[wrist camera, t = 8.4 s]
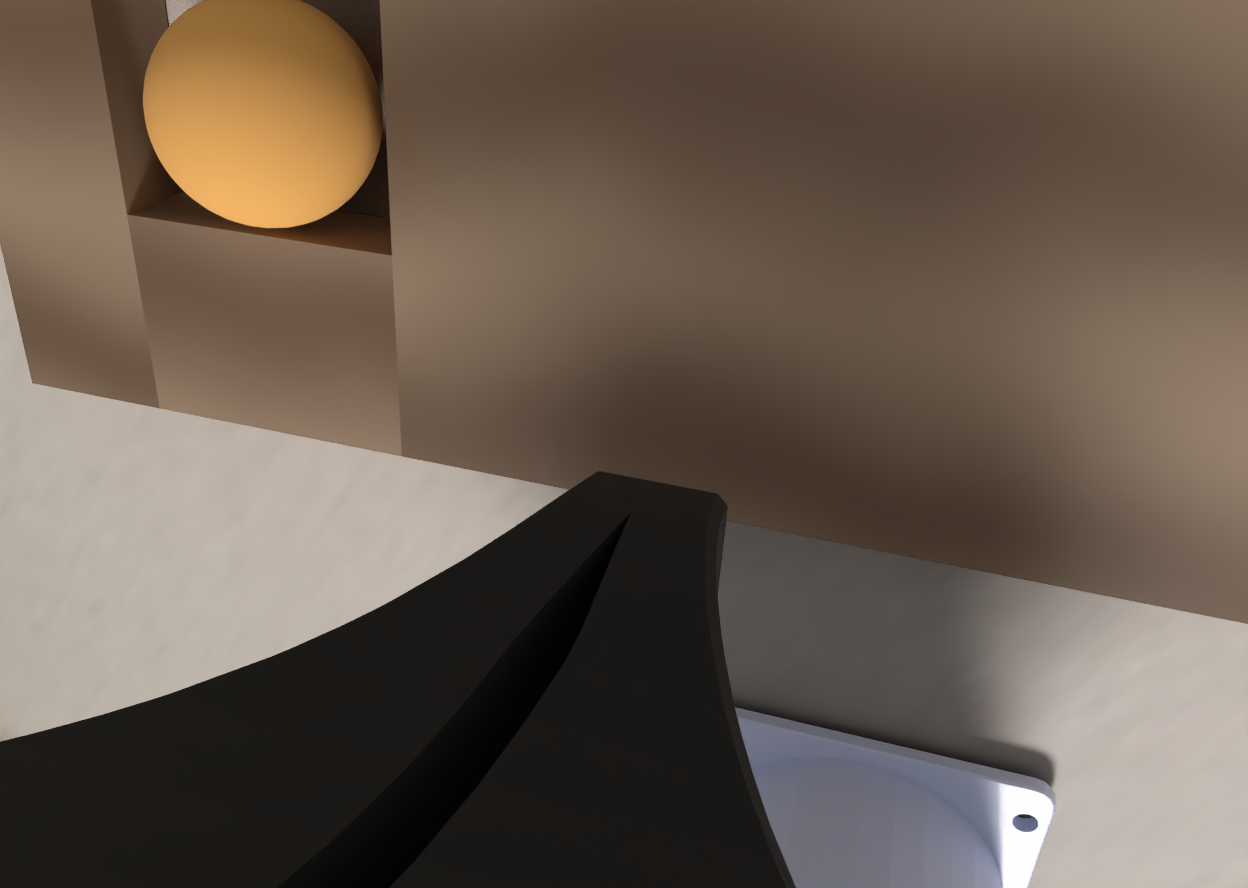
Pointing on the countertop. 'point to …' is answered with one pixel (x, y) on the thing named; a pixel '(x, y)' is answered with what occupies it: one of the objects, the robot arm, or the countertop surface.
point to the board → (712, 266)
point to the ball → (262, 110)
